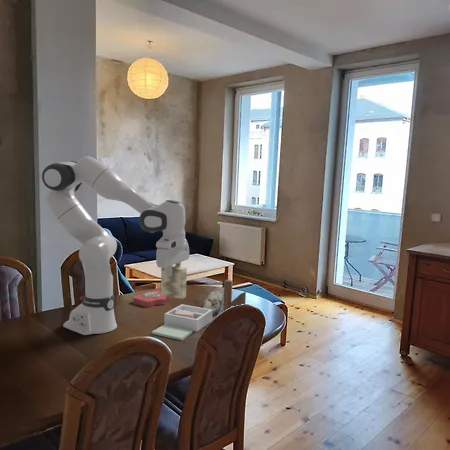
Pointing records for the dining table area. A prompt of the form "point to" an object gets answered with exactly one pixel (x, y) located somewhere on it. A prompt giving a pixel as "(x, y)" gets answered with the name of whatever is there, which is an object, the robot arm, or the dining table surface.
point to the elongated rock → (213, 301)
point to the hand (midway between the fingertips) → (173, 274)
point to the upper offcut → (185, 314)
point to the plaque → (151, 299)
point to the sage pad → (172, 332)
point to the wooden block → (228, 296)
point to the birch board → (173, 282)
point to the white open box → (199, 321)
